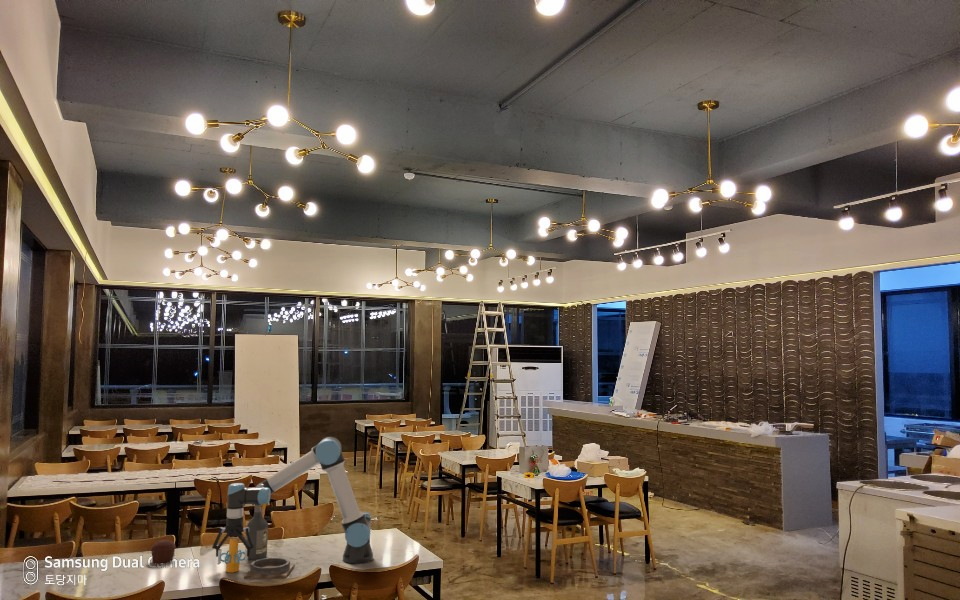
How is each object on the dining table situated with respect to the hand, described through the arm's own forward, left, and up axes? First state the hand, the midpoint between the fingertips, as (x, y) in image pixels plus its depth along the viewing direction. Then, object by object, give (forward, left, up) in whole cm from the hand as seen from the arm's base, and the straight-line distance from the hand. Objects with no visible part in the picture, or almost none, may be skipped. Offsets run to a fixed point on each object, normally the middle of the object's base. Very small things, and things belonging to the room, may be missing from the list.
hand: (232, 563), depth 321 cm
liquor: (-5, -23, -4) cm, 24 cm away
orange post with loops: (0, 0, -4) cm, 4 cm away
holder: (-18, +2, -3) cm, 18 cm away
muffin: (+39, -17, -4) cm, 43 cm away
